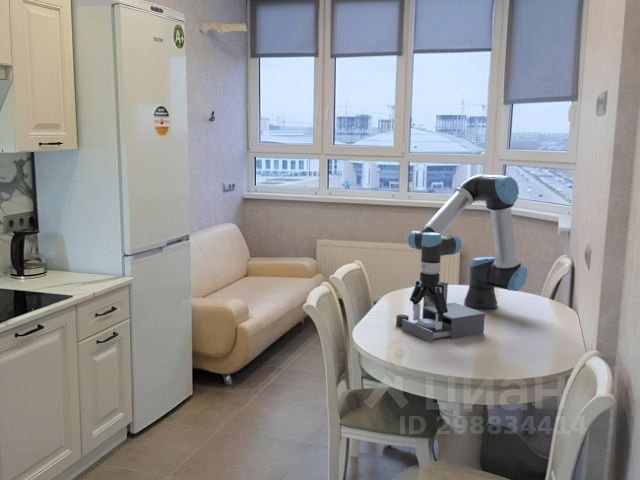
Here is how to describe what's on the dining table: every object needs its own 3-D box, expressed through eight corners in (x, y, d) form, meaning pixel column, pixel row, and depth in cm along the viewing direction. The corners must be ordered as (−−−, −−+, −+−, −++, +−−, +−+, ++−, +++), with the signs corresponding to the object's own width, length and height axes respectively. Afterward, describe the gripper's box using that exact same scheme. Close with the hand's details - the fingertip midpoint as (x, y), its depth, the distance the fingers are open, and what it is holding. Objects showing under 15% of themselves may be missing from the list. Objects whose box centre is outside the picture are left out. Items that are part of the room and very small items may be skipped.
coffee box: (446, 318, 267) (448, 282, 264) (442, 322, 261) (444, 285, 258) (426, 315, 271) (428, 280, 268) (421, 318, 265) (423, 282, 263)
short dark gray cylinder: (403, 323, 258) (403, 314, 258) (410, 326, 254) (411, 317, 253) (393, 324, 256) (394, 315, 255) (401, 327, 252) (401, 318, 251)
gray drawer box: (453, 321, 262) (454, 302, 261) (483, 333, 247) (484, 313, 245) (422, 326, 254) (423, 307, 252) (451, 339, 238) (452, 318, 237)
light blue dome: (429, 321, 248) (429, 317, 248) (441, 327, 241) (441, 323, 241) (413, 323, 245) (413, 319, 245) (424, 329, 238) (425, 325, 237)
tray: (434, 324, 257) (435, 314, 256) (464, 336, 242) (464, 326, 241) (401, 329, 249) (402, 319, 248) (430, 342, 233) (431, 331, 233)
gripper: (402, 266, 248) (400, 317, 252) (443, 279, 227) (440, 334, 230) (417, 265, 252) (414, 315, 255) (459, 277, 231) (455, 331, 234)
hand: (427, 324), depth 243 cm, fingers open, 13 cm apart
